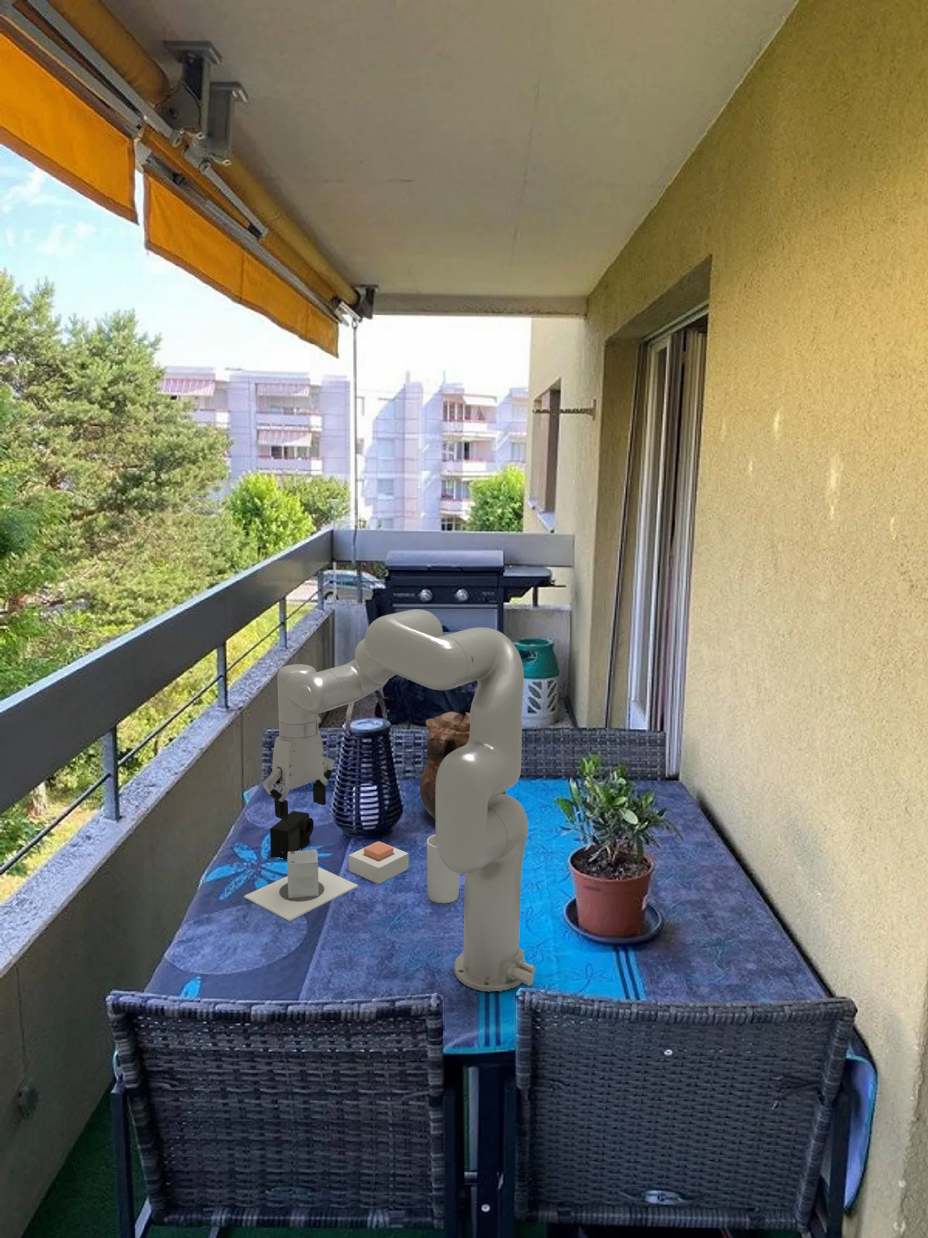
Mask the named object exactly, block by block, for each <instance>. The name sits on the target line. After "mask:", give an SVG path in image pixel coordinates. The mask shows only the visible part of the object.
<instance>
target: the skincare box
mask: <svg viewBox="0 0 928 1238" xmlns="http://www.w3.org/2000/svg"><path fill="white" fill-rule="evenodd" d="M318 854H319V853H318V849H306V850H305V849H304V850H299V851H290V852H288V858H287V860H286V862H287V876H288V897H289V898H298V897H310V896H318V895H319V886H318V867H319V856H318Z"/></svg>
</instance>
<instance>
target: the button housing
mask: <svg viewBox="0 0 928 1238" xmlns="http://www.w3.org/2000/svg"><path fill="white" fill-rule="evenodd" d="M377 842H381V843H383V844H386V843H384V842H382V841H379V840H378V841H376V842H374V843H372V844H369V845H367V846H365V847H363V848H361V849H359V850H357V851H355V852H352V853H350V854H348V871H349V872H351V873H353V874H355V875H358V876H360V877H362V878H364V879H366V880H369V881H371V882H373V883H375V884H378V885H380V884H382V883H385V882H386V881H388V880H390V879H392V878H393V877H395V876H398V875H399V874H401V873H404V872H406V871H407V870H409V860H410V859H409V853H408V852H406V851H404V850H401V849H399V848H396V847H394V846H391V845H389V844H386V845H388V846H390V847H393V855H392V856H390V857H388V858H386V859H384V860H381V861H379V862H378V861H376V860H373V859H371V858H369V857H366V856H364V848H366V847H368V846H370V845H373V844H375V843H377Z"/></svg>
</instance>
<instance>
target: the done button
mask: <svg viewBox="0 0 928 1238" xmlns="http://www.w3.org/2000/svg"><path fill="white" fill-rule="evenodd" d="M376 842H377V843H376ZM376 842H374V843H375V844H374V843H372V844H373V845H372V844H369V845H370V846H369V845H367V846H368V847H367V846H365V847H366V848H365V847H363V848H364V856H366V857H369V858H371V859H373V860H376V861H378V862H379V861H381V860H384V859H386V858H388V857H390V856H392V855H393V847H394V846H392V847H390V846H391V845H389V844H387V845H386V843H384V842H382V841H379V842H378V841H376ZM381 842H382V843H381ZM383 843H384V844H383ZM388 845H389V846H388Z"/></svg>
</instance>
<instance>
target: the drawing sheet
mask: <svg viewBox="0 0 928 1238" xmlns="http://www.w3.org/2000/svg"><path fill="white" fill-rule="evenodd" d="M318 886H319V895H318V896H310V897H298V898H289V897H288V875H287V876H284V877H282V878H280V879H278V880H275V881H274V882H272V883H269V884H267V885H264V886H263V887H260V888H258V889H256V890H254V891H251V892H249V893H247V894H245V895H243V898H245V899H247V900H248V901H250V902H252V903H254V904H256V905H258V906H259V907H262V908H264V909H265V910H267V911H269V912H271V913H273V914H275V915H277V916H279V917H280V918H282V919H284V920H287V921H288V922H291V921H294V920H295V919H297V918H299V917H301V916H303V915H305V914H307V913H308V912H311V911H313V910H315V909H317V908H319V907H320V906H323V905H324V904H327V903H329V902H330V901H333V900H335V899H336V898H339V897H341V896H342V895H345V894H347V893H349V892H350V891H352V890H354V889H356V888H358V887H359V885H358V884H357V883H355V882H352V881H349V880H348V879H346V878H344V877H341V876H339V875H337V874H335V873H332V872H330V871H328V870H326V869H324V868H321V867H319V866H318Z"/></svg>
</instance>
